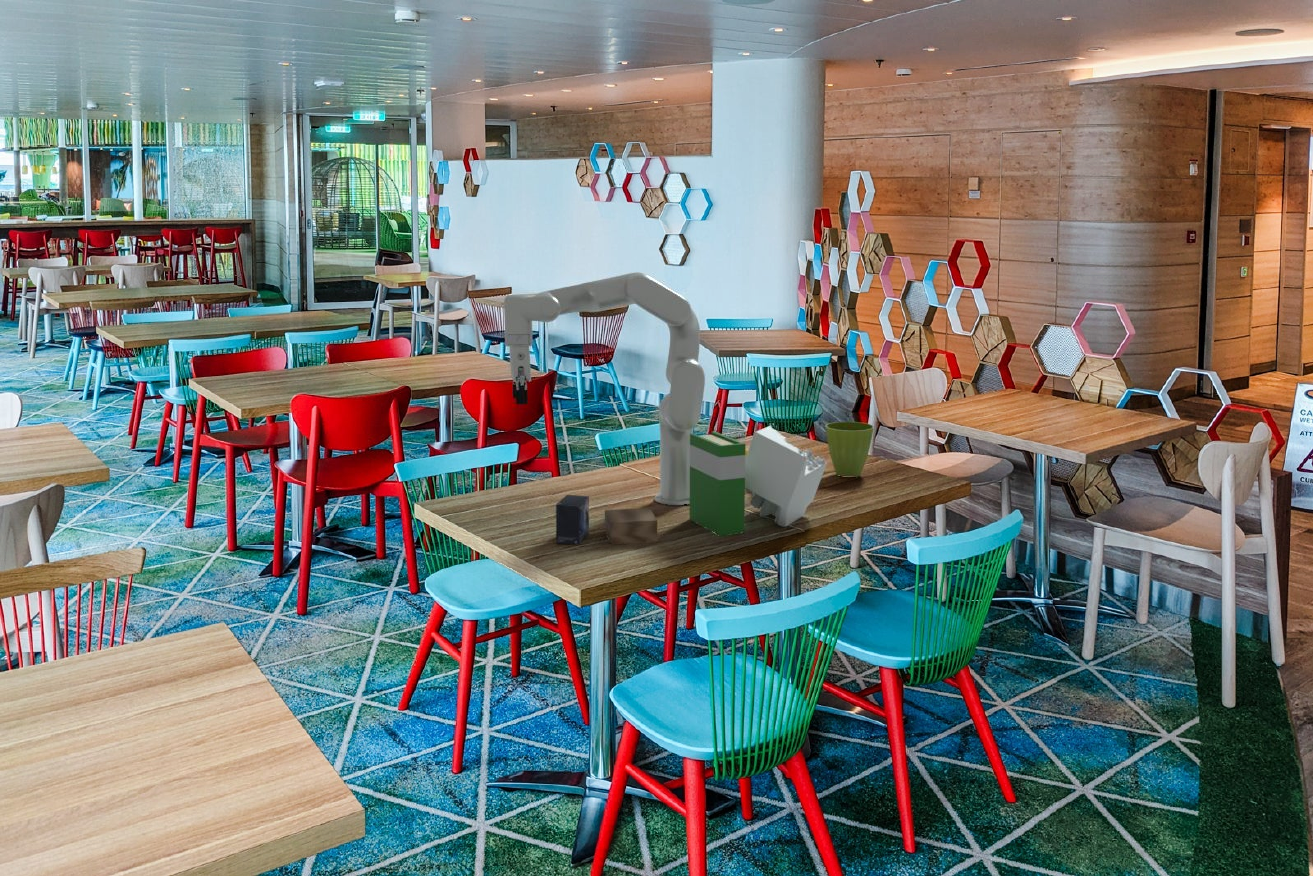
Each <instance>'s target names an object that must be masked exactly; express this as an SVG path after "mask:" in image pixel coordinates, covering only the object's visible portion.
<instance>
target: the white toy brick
mask: <svg viewBox="0 0 1313 876" xmlns="http://www.w3.org/2000/svg"><path fill="white" fill-rule="evenodd" d="M747 450H748V453H747V456H746V459H745V490H747V491H749V492H751V493H752V496H753V498H752V499H751V500H750V501H749V504H750V505H751V506H752V507H753V508H756V509H758V510H759V514H758V515H759V516H760V517H761V518H763V519H765V518H766V517H767V516H768V515H769V516H770V515H772V516H773V517H775V519H774V524H777V525H778V526H780V527H784V528H786V527H788V526H790V525H791V524H793V523H794V522H796V521H797V520H798V519H801V518H803V517H804V516H805V513H806V510H807V508H808V506H810V504H812V502H813V501H814V498H815V496H816V493H817V490H818V488H819V485H820V482H821V480H822V478H823V475H824V472H825V469H826V467H827V464H828V463H827V462H826V459H825V457H822V458H821V457H820V456H819V455H817V456H815V455H813V452H812V449H811V448H810V449H808V450H807V449H806V448H805V449H804V450H805V451H804V450H803V449H802V448H798V447H796V446H794V445H793V444H791V442H787V437H785V436H784V435H782V434H781V433H780V432H778V430H776V429H774V428H773V427H772V425H768V426H767V427H766V426H765V427H764V428H762V429H759V430H757V431H755V432H754V434H753V437H752V440H751V443H750V445H749V448H748V449H747ZM764 517H765V518H764ZM792 522H793V523H792Z"/></svg>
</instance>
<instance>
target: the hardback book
mask: <svg viewBox="0 0 1313 876" xmlns="http://www.w3.org/2000/svg"><path fill="white" fill-rule="evenodd" d="M710 433H711V434H704V435H698V434H695V433H694V432H693V433H692V434H690V504H689V520H690V519H691V520H693V521H694V522H693V521H692V522H693V523H695V522H697V523H698V524H697V523H696V524H697V525H699V524H700V525H701V527H702V526H703V527H702V528H704V527H706V528H707V529H709V530H710V531H709V530H708V531H709V532H711V531H713V532H715V533H716V534H717V536H718V535H719V536H718V537H723V536H722V535H725V536H730V535H729V534H732V535H736V534H735V533H740V534H742V533H741V532H744V533H745V509H746V507H745V506H746V505H745V503H746V502H745V501H746V494H745V493H746V492H745V491H746V489H745V450H746V447H747V446H746V445H747V444H746V443H744V442H742V441H739V440H737V439H735V438H732V437H729V436H727V435H724V434H722V433H720V432H717V431H714V430H713V431H711V432H710ZM691 520H690V521H691ZM700 525H699V526H700ZM706 528H705V529H706ZM707 529H706V530H707ZM713 532H712V533H713ZM716 534H715V535H716Z"/></svg>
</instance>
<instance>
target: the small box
mask: <svg viewBox="0 0 1313 876" xmlns="http://www.w3.org/2000/svg"><path fill="white" fill-rule="evenodd" d="M589 534H590V497H589V495H588V496H586V495H577V494H576V495H575V494H567V495H565V496H564V497H563V498H561V500H560V501H558V502H557V503H556V504H555V544H561V545H562V544H564V545H574V546H578V545H580V544H581V543H582V540H583V541H584V539H586V538H587V537H588V536H589Z"/></svg>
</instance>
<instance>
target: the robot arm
mask: <svg viewBox="0 0 1313 876" xmlns="http://www.w3.org/2000/svg"><path fill="white" fill-rule="evenodd" d="M631 305H637V306H638V307H639V308H640V309H642V310H645V312H647V313H649V314H650V315H652V316H654V317H655V318H657V319H659V320H661V322H663V323H665V324H666V325H667V327H668V330H669V349H668V355H667V356H668V357H667V362H666V363H667V364H666V368H665V378H666V380H667V382H668V383H669V384H670V390H669V393H667V394H666V395H664V396H663V398H662V399H661V401H660V402H659V405H658V422H659V434H660V435H659V439H660V440H659V442H660V444H659V445H660V447H659V448H660V449H659V454H660V455H659V464H660V465H659V472H660V473H659V479H660V480H659V486H660V487H659V489H660V490H659V493H657V494H655V496H654V501H655V502H656V503H658V504H662V505H666V504H667V506H685V505H684V504H687V505H690V434H692V433H693V434H694V429H695V427H696V426H698V425H697V424H698V423H699V421H700V419H701V414H702V408H703V400H704V393H705V385H706V375H705V371H704V368H703V367H702V365H701V364H700V363H699V354H700V344H701V330H700V323H699V321H698V320H699V319H698V317H697V314H696V313H695V311H694V310H693V308H692V307H691V304H690V302H689V301H688V299H686V298H685V297H684V296H682V295H680V294H679V293H677V292H675V291H673V290H672V289H670V288H669V287H667V286H665V285H663V284H662V283H660V282H659V281H657V280H656V279H654V277H653V278H652V277H651V276H650V275H648V274H645V273H642V272H637V271H636V272H630V273H626V274H625V273H624V274H621V275H616V276H611V277H607V278H602V279H597V280H593V281H588V282H583V283H579V284H575V285H569V286H565V287H560V288H554V289H550V290H546V291H541V292H539V293H537V294H535V295H534V296H529V295H528V294H527V295H526V294H509V295H506V296H505V297H504V300H503V306H504V307H503V311H504V313H503V315H504V345H505V347H509V367H510V368H509V369H510V375H511V376H510V377H511V379H512V398H513V399H515V404H516V405H517V406H518V405H519V406H520V405H528V404H529V402H528V401H529V400H528V389H527V388H528V385H527V381H528V383H529V382H531V381H532V373H531V353H530V347H532V346H533V322H541V323H550V322H553V321H555V320H557V318H559V316H563V315H567V314H571V313H578V312H579V313H581V312H588V313H597V312H603V311H608V310H612V309H616V308H617V309H618V308H622V307H626V306H631Z"/></svg>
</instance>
